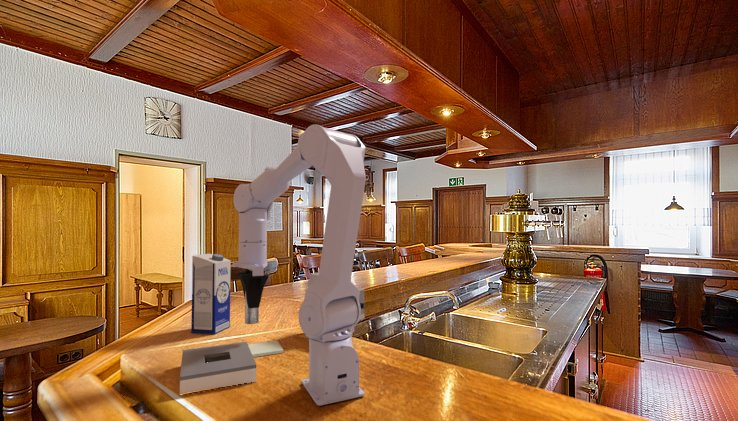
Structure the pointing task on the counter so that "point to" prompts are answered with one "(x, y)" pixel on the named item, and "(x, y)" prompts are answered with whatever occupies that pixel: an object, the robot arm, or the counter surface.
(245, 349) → the box
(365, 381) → the counter surface
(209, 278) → the milk carton
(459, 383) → the counter surface
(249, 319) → the shiny metal cylinder
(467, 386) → the counter surface
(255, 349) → the pad
